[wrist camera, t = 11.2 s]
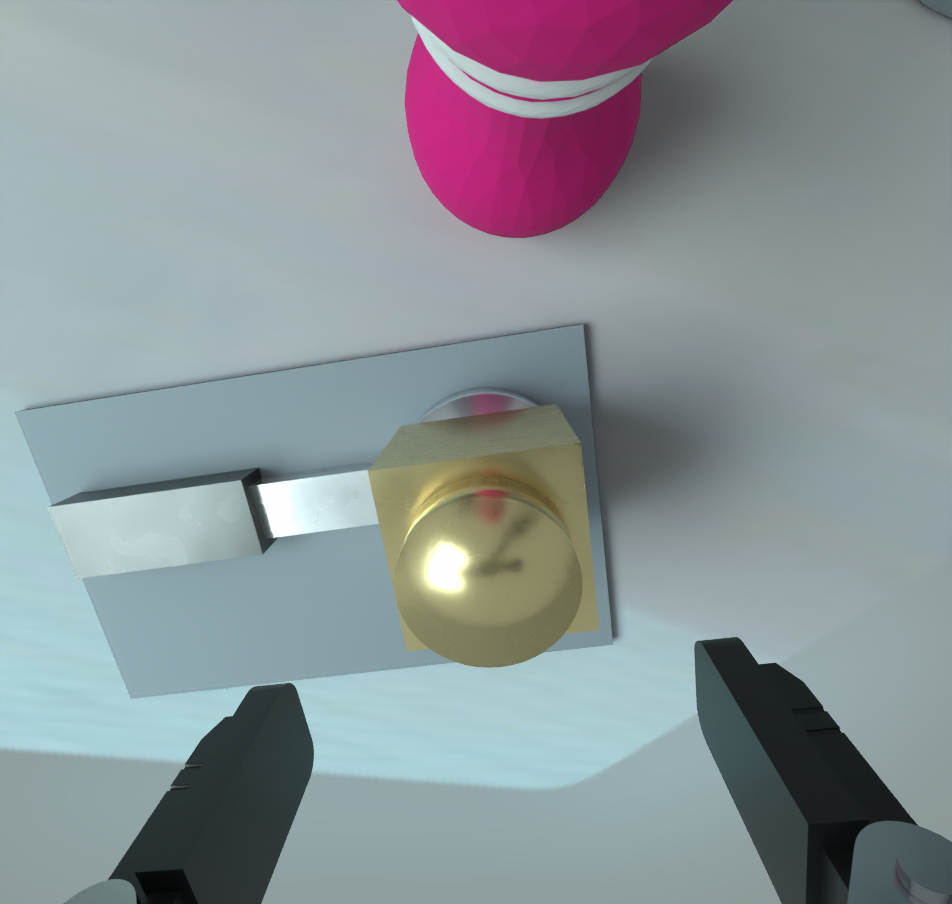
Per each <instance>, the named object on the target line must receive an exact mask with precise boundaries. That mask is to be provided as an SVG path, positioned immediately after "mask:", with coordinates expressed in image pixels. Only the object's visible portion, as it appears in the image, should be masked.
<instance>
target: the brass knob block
mask: <svg viewBox="0 0 952 904" xmlns="http://www.w3.org/2000/svg"><path fill="white" fill-rule="evenodd" d="M368 476H369V481H370V485H371V490H372V494H373V499H374V503H375V508H376V512H377V517H378V522H379V526H380V531H381V535H382V540H383V544H384V549H385V553H386V558H387V563H388V567H389V572H390V576H391V581H392V585H393V590H394V594H395V599H396V603H397V608H398V613H399V617H400V622H401V626H402V631H403V635H404V640H405V644H406V649H407V652H408V651H417V650H426V649H431V650H432V651H434V652H435V653H437V654H439V655H441V656H443V657H445V658H447V659H449V660H452V661H454V662H457V663H461V664H464V665H469V666H475V667H503V666H509V665H514V664H517V663H521V662H524V661H526V660H529V659H531V658H534V657H536V656H537V655H539V654H541V653H543V652H544V651H546V650H547V649H549V648H550V647H551V646H553V645H554V644H555V643H556V642H557V641H558V640H559V639H560V638H561V637H562V636H563V635H564V634H568V633H577V632H586V631H595V630H599V622H598V611H597V601H596V591H595V581H594V571H593V561H592V550H591V540H590V530H589V520H588V510H587V499H586V489H585V479H584V469H583V459H582V449H581V442H580V440H579V439H578V437H577V436H576V434H575V433H574V431H573V429H572V428H571V426H570V425H569V423H568V422H567V420H566V419H565V417H564V416H563V414H562V412H561V411H560V409H559V408H558V406H557V405H556V404H550V405H543V406H536V407H529V408H522V409H515V410H508V411H501V412H494V413H487V414H480V415H473V416H466V417H459V418H452V419H445V420H438V421H431V422H424V423H417V424H410V425H403V426H400V428H399V429H398V430H397V432H396V433H395V434H394V436H393V437H392V439H391V440H390V441H389V443H388V444H387V446H386V447H385V448H384V450H383V451H382V452H381V454H380V455H379V457H378V458H377V459H376V461H375V462H374V463H373V465H372V466H371V468H370V469H369V470H368Z"/></svg>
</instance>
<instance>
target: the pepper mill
mask: <svg viewBox="0 0 952 904" xmlns="http://www.w3.org/2000/svg"><path fill="white" fill-rule="evenodd" d="M397 1H398V2H399V4H400V5H401V7H402V8H403V9H404V10H406V11H407V12H408V13H409V14H410V15H411V18H412V21H413V23H414V25H415V27H416V29H417V31H418V35H417V39H416V42H415V45H414V48H413V52H412V55H411V59H410V63H409V67H408V70H407V81H406V93H405V110H406V118H407V127H408V133H409V137H410V142H411V145H412V149H413V153H414V157H415V160H416V162H417V165H418V167H419V169H420V172H421V174H422V176H423V178H424V180H425V181H426V183H427V185H428V186H429V188H430V189H431V191H432V193H433V194H434V195H435V196H436V197H437V199H438V200H439V201H440V202H441V203H442V205H443V206H444V207H445V208H446V209H448V210H449V211H450V212H451V213H452V214H453V215H455V216H456V217H457V218H458V219H460V220H462V221H463V222H465V223H466V224H468V225H470V226H471V227H473V228H476V229H478V230H481V231H483V232H486V233H488V234H492V235H497V236H502V237H511V238H526V237H533V236H538V235H543V234H546V233H549V232H552V231H554V230H557V229H560V228H562V227H564V226H565V225H567V224H569V223H571V222H572V221H574V220H576V219H577V218H579V217H580V216H581V215H582V214H583V213H585V212H586V211H587V210H588V209H590V208H591V207H592V206H593V205H594V204H595V203H596V202H597V201H598V200H599V198H600V197H601V196H602V195H603V193H604V192H605V191H606V190H607V188H608V187H609V186H610V184H611V183H612V181H613V179H614V178H615V176H616V174H617V172H618V171H619V169H620V167H621V166H622V164H623V162H624V161H625V159H626V156H627V154H628V151H629V149H630V147H631V144H632V142H633V139H634V135H635V131H636V127H637V123H638V119H639V114H640V101H641V77H642V74H641V72H642V71H643V70H644V69H645V68H646V67H647V66H648V65H649V63H650V62H651V61H652V60H653V58H654V57H655V56H656V55H658V54H660V53H661V52H663V51H664V50H666V49H668V48H669V47H671V46H672V45H674V44H676V43H677V42H679V41H681V40H682V39H684V38H685V37H687V36H689V35H690V34H692V33H694V32H695V31H697V30H698V29H700V28H702V27H703V26H705V25H706V24H708V23H709V22H711V21H712V20H713V19H714V18H715V17H716V16H717V15H718V14H719V13H720V12H721V11H722V10H723V9H724V8H725V7H727V6H728V5H729V4H730V3H731V2H732V1H733V0H397Z"/></svg>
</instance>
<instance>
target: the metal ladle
mask: <svg viewBox="0 0 952 904" xmlns="http://www.w3.org/2000/svg"><path fill="white" fill-rule="evenodd" d="M536 406H542V405H541V404H539V403H538V402H536V401H535V400H533V399H531V398H529V397H527V396H525V395H523V394H521V393H518V392H515V391H512V390H508V389H503V388H495V387H480V388H472V389H467V390H462V391H460V392H457V393H454V394H451V395H449V396H447V397H445V398H444V399H442V400H440V401H439V402H437V403H436V404H434V405H433V406H431V407H430V408H429V409H428V410H427V411H426V412H425V413H424V414H423V415H422V416H421V417H420V419H419V420H418V421H417V422H416V424H417V423H424V422H431V421H438V420H445V419H452V418H459V417H466V416H473V415H480V414H487V413H494V412H501V411H508V410H515V409H522V408H529V407H536ZM373 463H374V462H368V463H361V464H354V465H347V466H339V467H332V468H325V469H318V470H311V471H304V472H297V473H290V474H282V475H275V476H268V477H261V473H260V470H259V467H258V468H251V469H244V470H237V471H230V472H223V473H216V474H209V475H202V476H195V477H187V478H180V479H173V480H166V481H159V482H152V483H145V484H138V485H131V486H124V487H117V488H110V489H103V490H96V491H89V492H82V493H77V494H75V495H73V496H71V497H69V498H66V499H64V500H62V501H60V502H58V503H56V504H53V505H51V506H49V507H47V508H48V510H49V513H50V515H51V518H52V520H53V523H54V525H55V527H56V530H57V532H58V535H59V537H60V540H61V542H62V545H63V547H64V549H65V552H66V554H67V557H68V559H69V562H70V564H71V566H72V569H73V571H74V574H75V576H76V579H79V578H87V577H95V576H102V575H110V574H118V573H125V572H133V571H141V570H149V569H156V568H164V567H172V566H179V565H187V564H195V563H202V562H210V561H218V560H226V559H233V558H241V557H249V556H256V555H263V554H264V553H265V552H266V551H267V550H268V548H269V547H270V546H271V545H272V544H273V543H274V542H275V541H276V540H277V538H278V537H283V536H291V535H298V534H306V533H313V532H321V531H328V530H336V529H344V528H351V527H359V526H366V525H374V524H379V522H378V517H377V512H376V508H375V503H374V499H373V494H372V490H371V485H370V481H369V476H368V470H369V469H370V468H371V466H372V465H373Z"/></svg>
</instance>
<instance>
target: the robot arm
mask: <svg viewBox="0 0 952 904" xmlns="http://www.w3.org/2000/svg"><path fill="white" fill-rule="evenodd" d="M920 1H921V2H922V3H923V4H924V5H926V6H927V7H929V8H931V9H933V10H935V11H937V12H939V13H941V14H943V15H945V16H947V17H950V18H952V0H920ZM695 674H696V697H697V710H698V716H699V721H700V725H701V729H702V732H703V735H704V737H705V740H706V743H707V745H708V747H709V749H710V751H711V753H712V756H713V758H714V760H715V762H716V764H717V766H718V768H719V771H720V773H721V775H722V777H723V779H724V781H725V783H726V785H727V788H728V790H729V792H730V794H731V796H732V798H733V800H734V803H735V805H736V807H737V809H738V811H739V813H740V815H741V817H742V819H743V822H744V824H745V826H746V828H747V830H748V832H749V834H750V837H751V839H752V841H753V843H754V845H755V847H756V849H757V851H758V854H759V856H760V858H761V860H762V862H763V864H764V866H765V869H766V870H767V873H768V875H769V877H770V879H771V881H772V883H773V885H774V888H775V890H776V892H777V894H778V896H779V898H780V901H781V903H782V904H952V842H951V841H949V840H947V839H946V838H944V837H942V836H941V835H939V834H937V833H934V832H932V831H930V830H928V829H925V828H923V827H920V826H918V825H917V824H916V822H915V821H914V820H913V819H912V818H911V817H910V815H909V814H908V813H907V812H906V810H905V809H904V808H903V807H902V805H901V804H900V803H899V802H898V800H897V799H896V798H895V797H894V795H893V794H892V793H891V792H890V790H889V789H888V788H887V786H886V785H885V784H884V783H883V782H882V781H881V779H880V778H879V776H878V775H877V774H876V773H875V771H874V770H873V769H872V768H871V766H870V765H869V764H868V763H867V761H866V760H865V759H864V758H863V757H862V755H861V754H860V752H859V751H858V750H857V749H856V747H855V746H854V745H853V744H852V742H851V741H850V740H849V739H848V737H847V736H846V735H845V734H844V733H841V731H840V727H839V726H838V725H837V724H836V722H835V721H834V720H833V719H832V717H831V716H830V715H829V713H828V712H827V711H826V712H825V711H824V709H823V706H822V705H821V703H820V702H819V701H818V700H817V698H816V697H815V696H814V695H813V693H812V692H811V691H810V690H809V688H808V687H807V686H806V685H805V683H804V682H803V681H801V680H800V679H798V678H797V677H795V676H794V675H793V674H791V673H790V672H788V671H787V670H785V669H784V668H782V667H781V666H779V665H778V664H776V663H769V664H758V663H757V662H756V660H755V659H754V657H753V656H752V654H751V653H750V652H749V650H748V649H747V647H746V646H745V645H744V643H743V642H742V641H741V640H740V639H739V638H738V637H732V638H722V639H713V640H703V641H697V642H696V643H695ZM313 759H314V749H313V742H312V738H311V735H310V732H309V728H308V725H307V722H306V719H305V715H304V712H303V709H302V706H301V702H300V699H299V696H298V693H297V690H296V688H295V686H294V685H293V684H291V683H284V684H275V685H265V686H256V687H253V688H251V689H250V690H249V692H248V693H247V694H246V696H245V698H244V699H243V701H242V702H241V704H240V705H239V707H238V709H237V710H236V712H235V713H234V715H233V716H230V717H225V718H224V719H223V720H222V721H221V722H220V723H219V724H218V725H217V726H215V727H214V728H213V729H212V730H211V731H210V732H209V733H208V734H207V735H206V736H205V737H204V738H203V739H202V740H201V741H200V743H199V744H198V746H197V747H196V749H195V750H194V752H193V753H192V755H191V756H190V758H189V759H188V761H187V762H186V764H185V768H184V769H183V770H181V771H180V773H179V774H178V776H177V777H176V779H175V780H174V782H173V783H172V785H171V789H170V791H167V792H166V794H165V795H164V797H163V798H162V800H161V801H160V803H159V804H158V806H157V807H156V809H155V810H154V812H153V813H152V815H151V816H150V818H149V819H148V821H147V822H146V824H145V825H144V827H143V828H142V830H141V831H140V833H139V834H138V836H137V837H136V839H135V840H134V842H133V843H132V845H131V846H130V848H129V849H128V851H127V852H126V854H125V855H124V857H123V858H122V860H121V861H120V863H119V864H118V866H117V867H116V869H115V870H114V872H113V873H112V875H111V876H110V877H109V879H108V880H106V881H102V882H99V883H97V884H94V885H92V886H90V887H88V888H86V889H84V890H82V891H81V892H79V893H77V894H76V895H74V896H73V897H71V898H70V899H69V900H67V901H66V902H65V903H64V904H261V902H262V900H263V897H264V895H265V892H266V889H267V887H268V884H269V882H270V879H271V877H272V874H273V872H274V869H275V866H276V864H277V861H278V858H279V856H280V853H281V851H282V848H283V846H284V843H285V840H286V838H287V835H288V833H289V830H290V828H291V825H292V822H293V820H294V817H295V815H296V812H297V810H298V807H299V805H300V802H301V799H302V797H303V794H304V792H305V789H306V786H307V784H308V781H309V779H310V776H311V772H312V767H313Z"/></svg>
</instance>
